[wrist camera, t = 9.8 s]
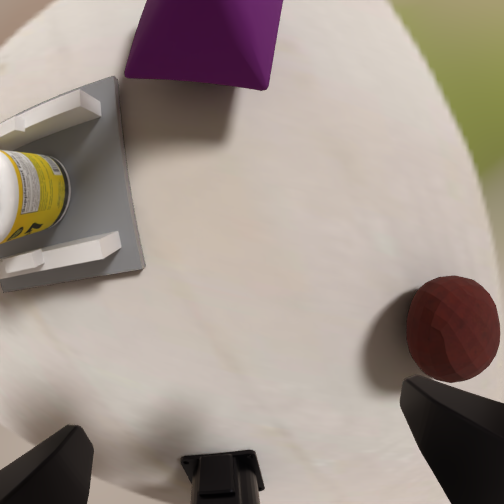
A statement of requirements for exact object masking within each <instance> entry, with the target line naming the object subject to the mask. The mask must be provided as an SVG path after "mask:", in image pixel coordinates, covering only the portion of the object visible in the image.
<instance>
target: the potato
mask: <svg viewBox="0 0 504 504" xmlns="http://www.w3.org/2000/svg"><path fill="white" fill-rule="evenodd" d="M406 333H407V343H408V347H409V351H410V353H411V356H412V358H413V359H414V361H415V362H416V364H417V365H418V367H419V368H420V369H421V370H422V371H423V372H424V373H425V374H427V375H428V376H430V377H432V378H434V379H436V380H440V381H444V382H449V383H453V382H460V381H465V380H468V379H471V378H473V377H475V376H477V375H478V374H480V373H481V372H482V371H483V370H485V369H486V368H487V367H488V366H489V365H490V363H491V362H492V360H493V359H494V357H495V356H496V353H497V350H498V347H499V343H500V323H499V318H498V313H497V308H496V305H495V303H494V301H493V299H492V298H491V296H490V294H489V293H488V292H487V291H486V290H485V289H484V288H483V287H482V286H481V285H480V284H478V283H477V282H476V281H474V280H472V279H468V278H464V277H459V276H446V277H438V278H436V279H433V280H431V281H429V282H426V283H425V284H424V285H423V286H422V287H421V288H419V289H418V291H417V292H416V294H415V296H414V298H413V299H412V302H411V305H410V308H409V311H408V317H407V331H406Z"/></svg>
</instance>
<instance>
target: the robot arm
mask: <svg viewBox="0 0 504 504" xmlns="http://www.w3.org/2000/svg"><path fill="white" fill-rule="evenodd" d="M400 407H401V409H402V412H403V414H404V416H405V418H406V420H407V423H408V425H409V427H410V429H411V432H412V434H413V436H414V438H415V441H416V443H417V445H418V447H419V449H420V451H421V453H422V455H423V456H424V458H425V460H426V461H427V463H428V465H429V466H430V468H431V470H432V471H433V473H434V475H435V476H436V478H437V480H438V482H439V483H440V485H441V487H442V488H443V490H444V492H445V494H446V495H447V497H448V499H449V501H450V502H451V504H504V403H501V402H497V401H494V400H491V399H488V398H485V397H482V396H479V395H475V394H472V393H469V392H466V391H463V390H460V389H457V388H454V387H451V386H449V385H446V384H443V383H440V382H437V381H434V380H431V379H429V378H426V377H423V376H420V375H413V376H410V377H408V378H405V379H404V380H403V382H402V389H401V396H400ZM93 454H94V449H93V445H92V443H91V442H90V440H89V438H88V437H87V435H86V433H85V432H84V430H83V428H82V427H81V426H79V425H66V426H65V427H63V428H62V429H60V430H59V431H58V432H56V433H55V434H53V435H52V436H50V437H49V438H47V439H46V440H45V441H43V442H42V443H40V444H39V445H37V446H36V447H34V448H33V449H32V450H30V451H28V452H27V453H25V454H24V455H22V456H21V457H19V458H18V459H16V460H15V461H14V462H12V463H10V464H9V465H8V466H6V467H4V468H3V469H1V470H0V504H87V501H88V496H89V489H90V480H91V470H92V462H93ZM181 464H182V466H183V468H184V470H185V472H186V474H187V476H188V478H189V480H190V481H191V483H192V492H191V504H260V500H259V492H258V491H263V490H264V489H265V487H264V483H263V479H262V475H261V471H260V467H259V463H258V460H257V456H256V452H255V451H253V450H246V451H239V452H230V453H221V454H211V455H198V456H184V457H182V458H181Z"/></svg>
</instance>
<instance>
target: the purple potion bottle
mask: <svg viewBox="0 0 504 504" xmlns="http://www.w3.org/2000/svg"><path fill="white" fill-rule="evenodd" d="M282 4H283V0H147V2H146V4H145V7H144V10H143V13H142V15H141V18H140V21H139V24H138V27H137V30H136V33H135V37H134V40H133V43H132V46H131V50H130V53H129V57H128V60H127V64H126V68H125V71H124V74H125V77H127V78H136V79H163V80H179V81H191V82H202V83H211V84H220V85H228V86H235V87H242V88H248V89H255V90H260V91H262V90H266V89H267V88H268V86H269V80H270V74H271V68H272V62H273V56H274V50H275V44H276V38H277V33H278V27H279V21H280V15H281V9H282Z"/></svg>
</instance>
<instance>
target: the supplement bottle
mask: <svg viewBox="0 0 504 504" xmlns="http://www.w3.org/2000/svg"><path fill="white" fill-rule="evenodd" d="M70 196H71V186H70V180H69V176H68V173H67V171H66V169H65V167H64V166H63V165H62V163H61V162H60V161H58V160H57V159H56V158H54V157H51V156H48V155H41V154H32V153H24V152H14V151H5V150H0V244H2V243H4V242H7V241H10V240H13V239H16V238H20V237H23V236H26V235H29V234H32V233H35V232H39V231H42V230H45V229H48V228H50V227H52V226H54V225H55V224H57V223H58V222H59V221H60V220H61V219H62V217H63V216H64V214H65V213H66V210H67V208H68V205H69V202H70Z"/></svg>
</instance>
